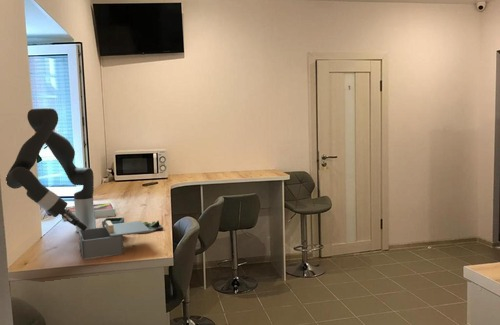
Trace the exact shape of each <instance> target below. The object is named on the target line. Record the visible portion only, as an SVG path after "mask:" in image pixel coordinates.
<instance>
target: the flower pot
mask: <svg viewBox="0 0 500 325" xmlns="http://www.w3.org/2000/svg"><path fill="white" fill-rule="evenodd" d="M105 221H111V222H112V224H118V223H125V217H105V219H103V221H101V225H102V227H104V225H106V222H105Z"/></svg>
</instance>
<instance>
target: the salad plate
mask: <svg viewBox="0 0 500 325" xmlns="http://www.w3.org/2000/svg"><path fill="white" fill-rule="evenodd" d="M141 222H142V223H143V224H144V225H145V226H147V227H148V228H149V229H150V232H143V233H142V234H148V233H149V234H150V233H152V232H156V231H160V230H162V229H164V226H163V225H161V224H160V221H159V220H156V221H152V222H148V221H141Z"/></svg>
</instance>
